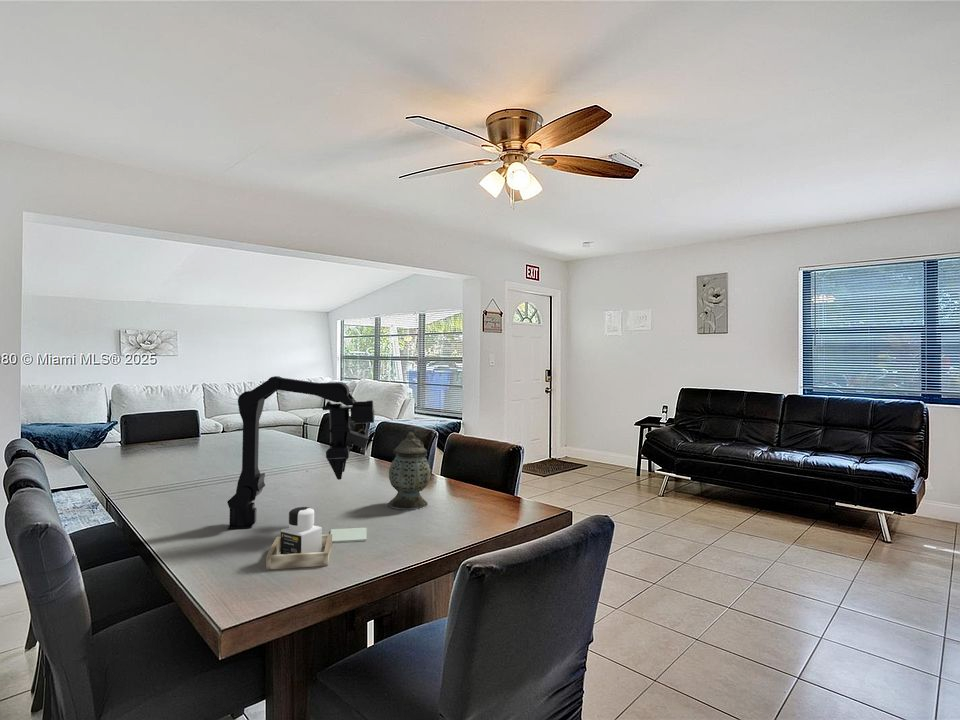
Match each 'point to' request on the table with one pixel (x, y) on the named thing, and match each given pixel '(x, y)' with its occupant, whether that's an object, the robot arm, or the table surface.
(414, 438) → the lantern
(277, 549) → the birch box
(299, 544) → the medicine bottle
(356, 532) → the sage mat
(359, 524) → the table surface
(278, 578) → the table surface
